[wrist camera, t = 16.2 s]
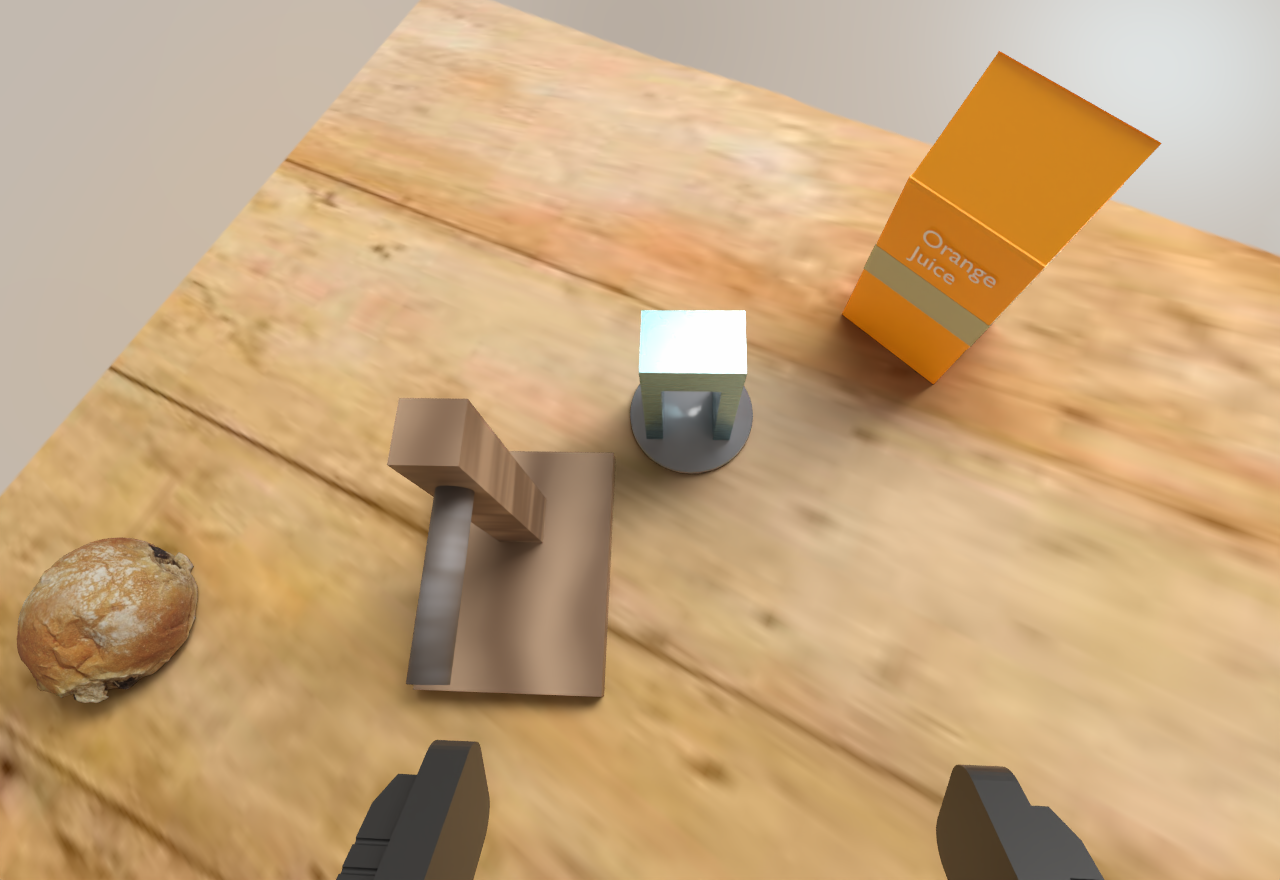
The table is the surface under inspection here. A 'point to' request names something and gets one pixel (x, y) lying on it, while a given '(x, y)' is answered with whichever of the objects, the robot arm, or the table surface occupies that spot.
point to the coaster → (691, 432)
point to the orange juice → (989, 213)
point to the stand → (506, 557)
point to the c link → (692, 363)
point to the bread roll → (106, 617)
